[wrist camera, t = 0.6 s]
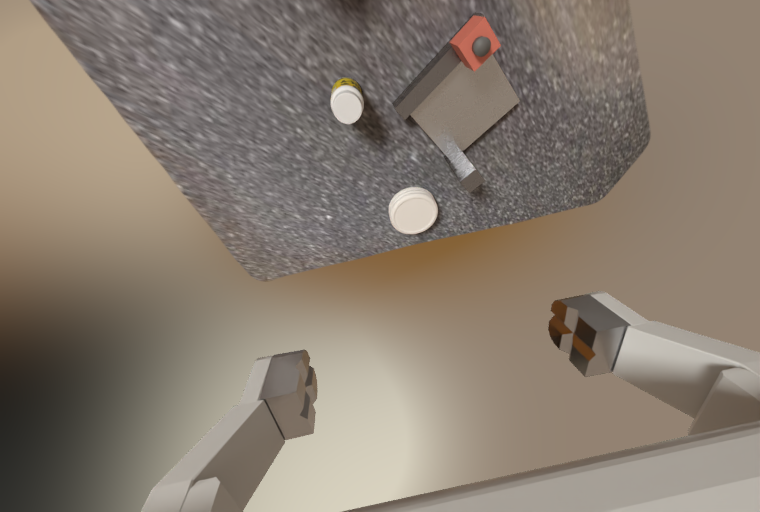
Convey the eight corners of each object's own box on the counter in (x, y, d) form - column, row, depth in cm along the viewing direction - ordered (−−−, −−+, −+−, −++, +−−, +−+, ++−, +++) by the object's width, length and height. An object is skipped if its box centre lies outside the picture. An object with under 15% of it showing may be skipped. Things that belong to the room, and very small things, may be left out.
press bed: (474, 12, 40) (504, 16, 33) (526, 102, 49) (559, 122, 42) (392, 103, 47) (401, 123, 40) (450, 168, 56) (467, 194, 48)
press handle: (473, 15, 38) (488, 17, 34) (488, 41, 40) (504, 46, 36) (449, 42, 39) (460, 47, 36) (465, 66, 41) (477, 73, 38)
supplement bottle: (366, 85, 45) (371, 100, 39) (355, 114, 47) (357, 133, 41) (337, 70, 43) (337, 82, 37) (327, 101, 46) (325, 118, 40)
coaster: (391, 184, 57) (393, 193, 55) (439, 186, 58) (443, 195, 56) (386, 225, 64) (387, 235, 61) (429, 226, 65) (432, 235, 63)
